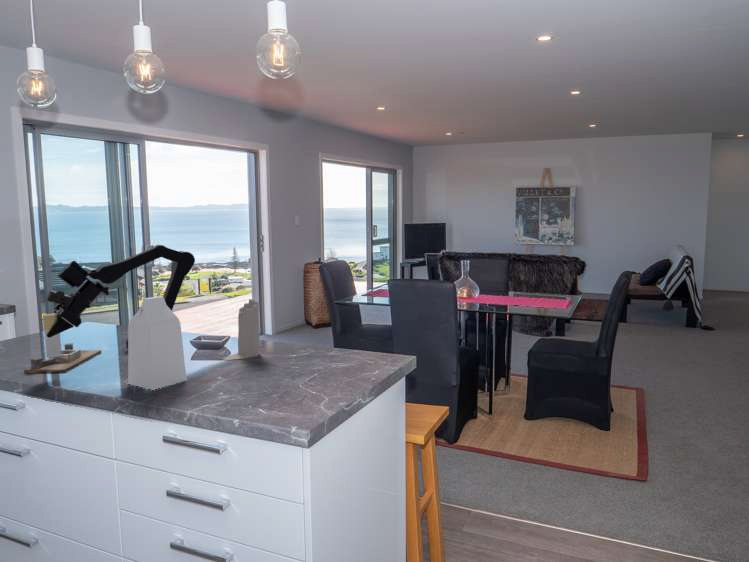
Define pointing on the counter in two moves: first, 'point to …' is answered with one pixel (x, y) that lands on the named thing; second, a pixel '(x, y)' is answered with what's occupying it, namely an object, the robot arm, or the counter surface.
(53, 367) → the shaft board
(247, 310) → the grey stepped bookend
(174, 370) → the milk
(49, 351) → the block
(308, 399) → the counter surface
